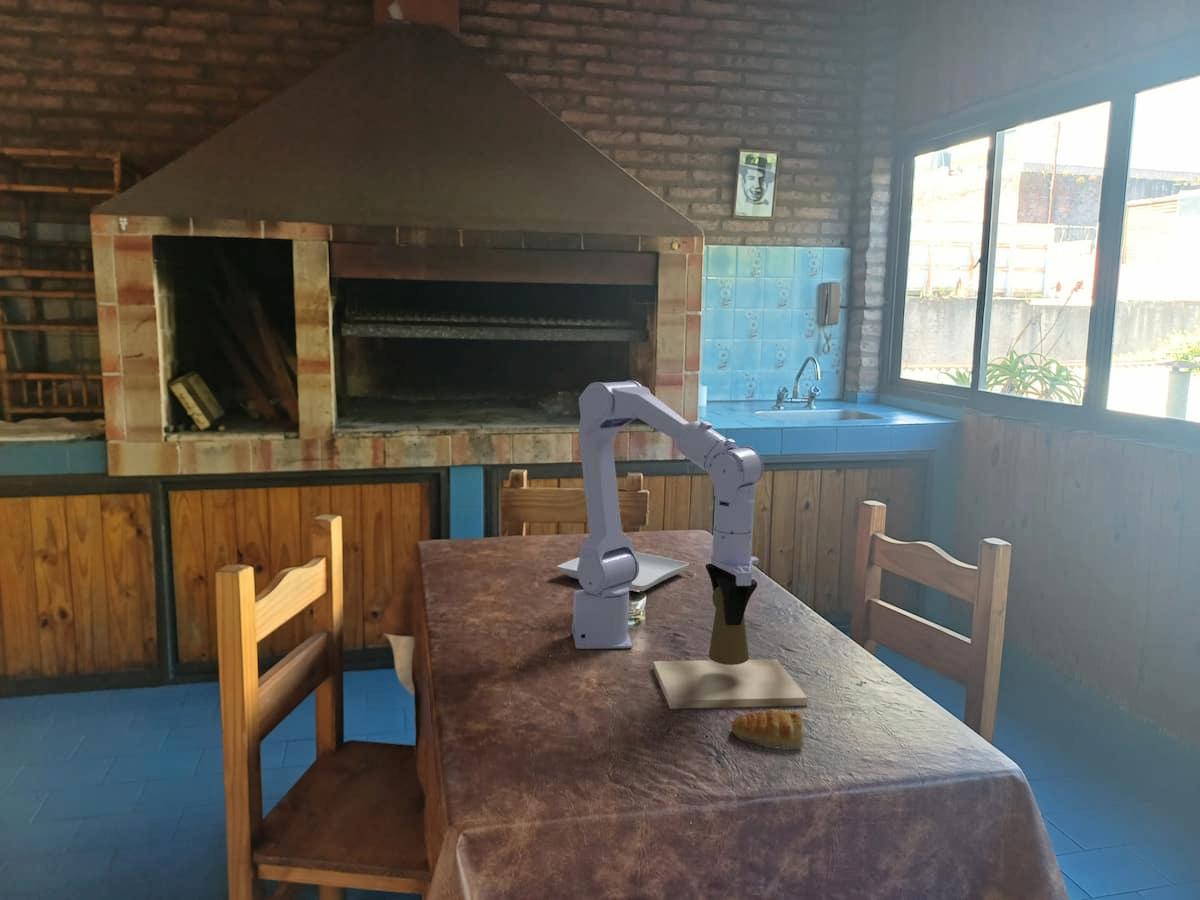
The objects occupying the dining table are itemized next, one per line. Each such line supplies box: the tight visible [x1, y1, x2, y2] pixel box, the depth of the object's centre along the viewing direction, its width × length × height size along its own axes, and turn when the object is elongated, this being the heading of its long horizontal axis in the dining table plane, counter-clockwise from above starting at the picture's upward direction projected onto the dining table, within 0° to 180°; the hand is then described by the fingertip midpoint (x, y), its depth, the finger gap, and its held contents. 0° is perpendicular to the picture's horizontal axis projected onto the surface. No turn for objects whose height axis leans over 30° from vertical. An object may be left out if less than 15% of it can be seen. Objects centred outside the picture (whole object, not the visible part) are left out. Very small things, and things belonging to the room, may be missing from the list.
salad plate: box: [556, 550, 690, 592], centre depth 181 cm, size 21×21×3 cm
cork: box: [708, 586, 750, 665], centre depth 128 cm, size 6×6×11 cm
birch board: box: [652, 658, 808, 710], centre depth 128 cm, size 20×14×1 cm
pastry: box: [731, 708, 805, 750], centre depth 113 cm, size 9×7×4 cm
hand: (728, 617), depth 128 cm, fingers closed on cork, 5 cm apart
